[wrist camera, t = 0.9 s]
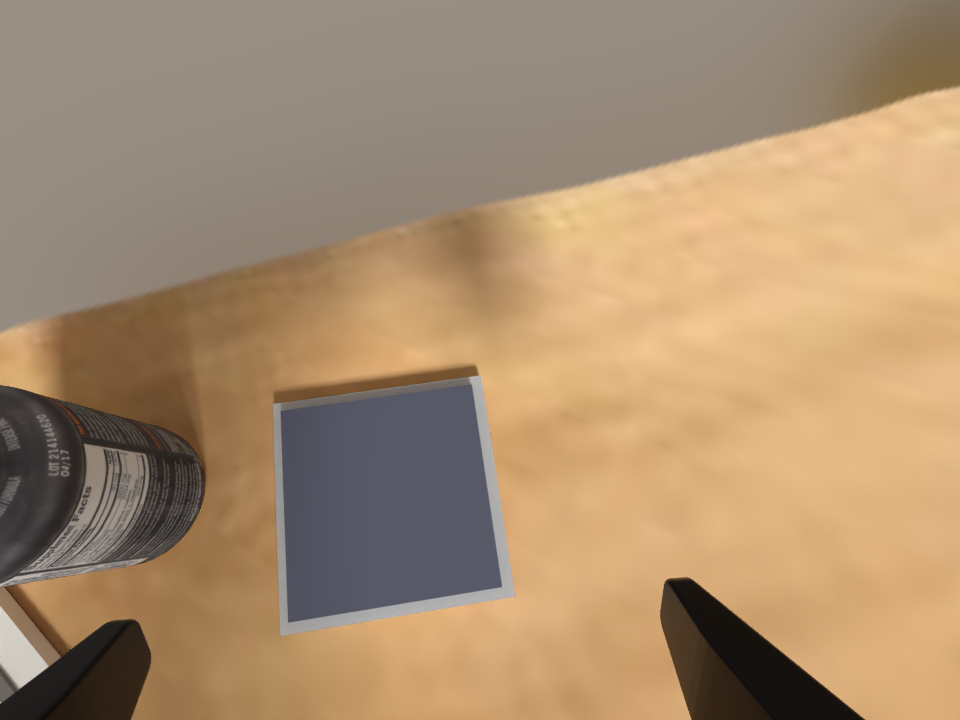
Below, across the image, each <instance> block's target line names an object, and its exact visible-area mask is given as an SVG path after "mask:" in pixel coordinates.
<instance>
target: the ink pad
mask: <svg viewBox="0 0 960 720" xmlns="http://www.w3.org/2000/svg"><path fill="white" fill-rule="evenodd" d="M273 428H274V460H275V491H276V523H277V554H278V586H279V617H280V636H283V635H289V634H295V633H301V632H307V631H313V630H319V629H325V628H331V627H337V626H343V625H349V624H355V623H361V622H367V621H373V620H379V619H385V618H391V617H396V616H402V615H408V614H414V613H420V612H426V611H432V610H438V609H444V608H450V607H456V606H462V605H468V604H474V603H480V602H486V601H492V600H498V599H504V598H510V597H515V592H514V585H513V579H512V572H511V566H510V559H509V553H508V547H507V540H506V534H505V527H504V521H503V514H502V508H501V501H500V495H499V489H498V482H497V476H496V469H495V463H494V456H493V450H492V444H491V437H490V431H489V424H488V418H487V411H486V405H485V399H484V392H483V386H482V379H481V375H479V376H472V377H465V378H458V379H450V380H443V381H436V382H429V383H421V384H414V385H407V386H400V387H392V388H385V389H378V390H371V391H363V392H356V393H349V394H342V395H334V396H327V397H320V398H313V399H305V400H298V401H291V402H283V403H276V404H273Z"/></svg>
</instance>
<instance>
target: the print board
mask: <svg viewBox="0 0 960 720" xmlns="http://www.w3.org/2000/svg"><path fill="white" fill-rule="evenodd" d="M59 658H61V656H60V655H59V654H58V653H57V651H56V650H55V649H54V648H53V646H52V645H51V644H50V643H49V641H48V640H47V639H46V638H45V637H44V635H43V634H42V633H41V632H40V630H39V629H38V628H37V627H36V625H35V624H34V623H33V622H32V621H31V619H30V618H29V617H28V616H27V614H26V613H25V612H24V611H23V609H22V608H21V607H20V606H19V605H18V603H17V602H16V601H15V600H14V598H13V597H12V596H11V595H10V594H9V592H8V591H7V590H6V589H5V587H0V703H2V702H3V701H4V700H6V699H7V698H8V697H9V696H11V695H12V694H13V693H15V692H16V691H17V690H19V689H20V688H21V687H23V686H24V685H25V684H26V683H28V682H29V681H30V680H32V679H33V678H34V677H36V676H37V675H38V674H40V673H41V672H42V671H44V670H45V669H46V668H47V667H49V666H50V665H51V664H53V663H54V662H55V661H57V660H58V659H59Z"/></svg>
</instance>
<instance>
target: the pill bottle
mask: <svg viewBox="0 0 960 720" xmlns="http://www.w3.org/2000/svg"><path fill="white" fill-rule="evenodd" d="M204 488H205V479H204V471H203V468H202V465H201V462H200V459H199V457H198V455H197V454H196V452H195V451H194V449H193V448H192V447H191V445H190V444H189V443H188V442H187V441H186V440H184V439H183V438H182V437H180V436H178V435H177V434H175V433H173V432H171V431H169V430H166V429H163V428H161V427H158V426H154V425H150V424H146V423H142V422H138V421H134V420H131V419H127V418H123V417H119V416H116V415H113V414H109V413H105V412H102V411H98V410H94V409H91V408H87V407H83V406H80V405H76V404H73V403H69V402H65V401H61V400H58V399H54V398H50V397H47V396H43V395H39V394H36V393H33V392H29V391H26V390H22V389H18V388H14V387H9V386H2V385H0V587H5V586H11V585H16V584H23V583H29V582H35V581H41V580H48V579H54V578H60V577H66V576H71V575H79V574H84V573H90V572H97V571H103V570H109V569H115V568H123V567H128V566H133V565H137V564H141V563H145V562H148V561H150V560H153V559H155V558H157V557H158V556H160V555H162V554H164V553H165V552H167V551H168V550H169V549H171V548H172V547H173V546H174V545H176V544H177V543H178V542H179V541H180V540H181V539H182V538H183V537H184V535H185V534H186V533H187V532H188V530H189V529H190V527H191V526H192V524H193V522H194V521H195V519H196V517H197V515H198V513H199V511H200V508H201V505H202V501H203V496H204Z"/></svg>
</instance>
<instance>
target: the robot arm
mask: <svg viewBox="0 0 960 720" xmlns="http://www.w3.org/2000/svg"><path fill="white" fill-rule="evenodd" d="M660 619H661V625H662V628H663V632H664V635H665V638H666V641H667V644H668V647H669V651H670V654H671V657H672V660H673V663H674V667H675V670H676V673H677V676H678V679H679V682H680V686H681V689H682V692H683V695H684V698H685V701H686V705H687V708H688V711H689V714H690V717H691V719H692V720H865V719H864V718H863V717H861V716H860V715H859V714H858V713H856V712H855V711H854V710H853V709H851V708H850V707H849V706H848V705H846V704H845V703H844V702H843V701H842V700H840V699H839V698H838V697H837V696H835V695H834V694H833V693H832V692H830V691H829V690H828V689H827V688H826V687H824V686H823V685H822V684H821V683H819V682H818V681H817V680H816V679H814V678H813V677H812V676H811V675H810V674H808V673H807V672H806V671H805V670H803V669H802V668H801V667H800V666H798V665H797V664H796V663H795V662H794V661H792V660H791V659H790V658H789V657H787V656H786V655H785V654H784V653H782V652H781V651H780V650H779V649H778V648H776V647H775V646H774V645H773V644H771V643H770V642H769V641H768V640H766V639H765V638H764V637H763V636H762V635H760V634H759V633H758V632H757V631H755V630H754V629H753V628H752V627H750V626H749V625H748V624H747V623H746V622H744V621H743V620H742V619H741V618H739V617H738V616H737V615H736V614H734V613H733V612H732V611H731V610H729V609H728V608H727V607H726V606H725V605H723V604H722V603H721V602H720V601H718V600H717V599H716V598H715V597H713V596H712V595H711V594H710V593H709V592H707V591H706V590H705V589H704V588H702V587H701V586H700V585H699V584H697V583H696V582H695V581H694V580H692V579H690V578H687V577H683V578H670V579H667V580H666V581H665V584H664V589H663V596H662V603H661V610H660ZM150 664H151V652H150V649H149V646H148V644H147V641H146V639H145V636H144V634H143V631H142V629H141V626H140V624H139V623H138V622H137V621H136V620H133V619H128V620H115V621H110V622H108V623H106V624H104V625H103V626H101V627H100V628H99V629H97V630H96V631H95V632H93V633H92V634H91V635H89V636H88V637H87V638H85V639H84V640H83V641H82V642H80V643H79V644H78V645H76V646H75V647H74V648H72V649H71V650H70V651H68V652H67V653H66V654H65V655H63V656H62V657H61V658H59V659H58V660H57V661H55V662H54V663H53V664H51V665H50V666H49V667H47V668H46V669H45V670H44V671H42V672H41V673H40V674H38V675H37V676H36V677H34V678H33V679H32V680H30V681H29V682H28V683H26V684H25V685H24V686H23V687H21V688H20V689H19V690H17V691H16V692H15V693H13V694H12V695H11V696H9V697H8V698H7V699H6V700H4V701H3V702H2V703H0V720H131V718H132V715H133V713H134V710H135V707H136V704H137V702H138V699H139V696H140V694H141V691H142V688H143V685H144V683H145V680H146V677H147V674H148V672H149V668H150Z"/></svg>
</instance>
